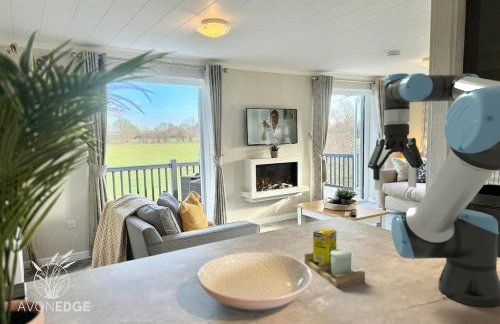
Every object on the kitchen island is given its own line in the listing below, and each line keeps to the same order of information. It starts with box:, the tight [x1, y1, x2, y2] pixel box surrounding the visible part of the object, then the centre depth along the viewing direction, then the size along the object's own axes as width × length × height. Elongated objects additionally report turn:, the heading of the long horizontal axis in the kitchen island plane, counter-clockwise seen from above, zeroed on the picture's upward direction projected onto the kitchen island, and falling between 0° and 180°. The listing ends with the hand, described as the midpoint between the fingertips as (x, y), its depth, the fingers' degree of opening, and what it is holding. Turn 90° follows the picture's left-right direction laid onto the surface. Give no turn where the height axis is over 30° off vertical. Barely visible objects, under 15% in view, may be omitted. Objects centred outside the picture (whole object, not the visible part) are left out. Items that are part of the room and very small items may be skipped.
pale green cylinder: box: [331, 248, 352, 279], centre depth 103 cm, size 6×6×8 cm
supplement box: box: [312, 227, 337, 264], centre depth 112 cm, size 6×6×11 cm
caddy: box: [304, 252, 366, 289], centre depth 108 cm, size 20×10×4 cm, turn 18°
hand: (395, 188), depth 110 cm, fingers open, 13 cm apart
